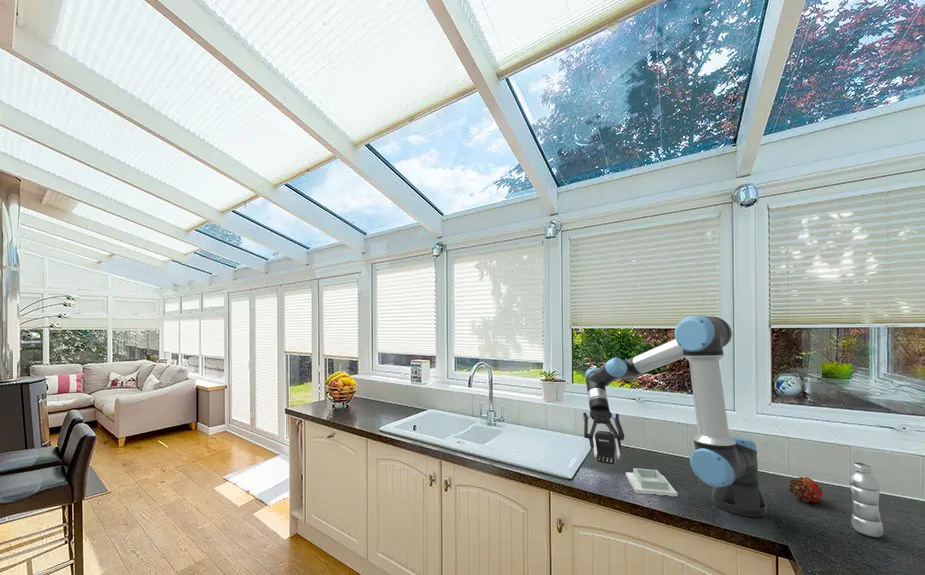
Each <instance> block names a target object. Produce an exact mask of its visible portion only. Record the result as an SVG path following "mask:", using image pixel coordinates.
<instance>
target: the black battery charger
mask: <svg viewBox="0 0 925 575" xmlns="http://www.w3.org/2000/svg"><path fill="white" fill-rule="evenodd" d="M594 437H595V441H596V448H597V457H596V461H597V462H598V463H602V464H607V465H615V464H616V450H615V436H614V434H613V433H612V432H610V430H603V429H599V430H597V431H596V432H595V433H594Z"/></svg>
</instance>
